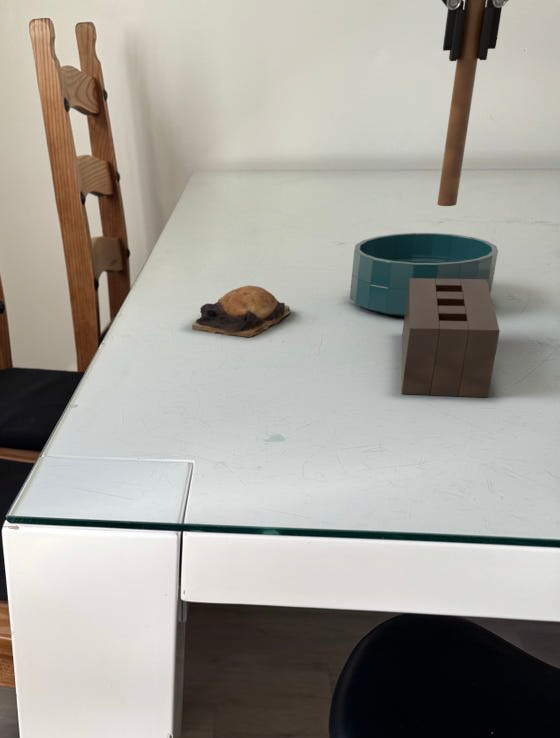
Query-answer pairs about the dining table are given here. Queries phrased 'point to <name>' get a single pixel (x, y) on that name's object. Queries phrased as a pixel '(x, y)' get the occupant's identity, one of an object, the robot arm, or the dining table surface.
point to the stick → (461, 103)
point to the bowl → (414, 266)
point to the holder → (448, 338)
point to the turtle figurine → (241, 312)
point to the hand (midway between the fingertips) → (467, 57)
